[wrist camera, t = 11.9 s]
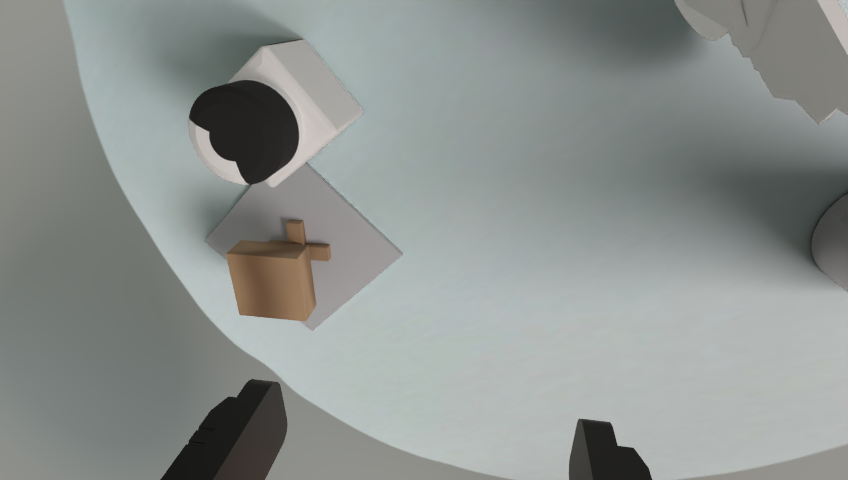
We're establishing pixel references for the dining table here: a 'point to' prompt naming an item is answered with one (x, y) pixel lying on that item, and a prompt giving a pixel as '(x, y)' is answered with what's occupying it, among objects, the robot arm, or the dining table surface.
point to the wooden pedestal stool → (276, 275)
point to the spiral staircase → (785, 46)
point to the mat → (311, 235)
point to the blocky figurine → (271, 115)
